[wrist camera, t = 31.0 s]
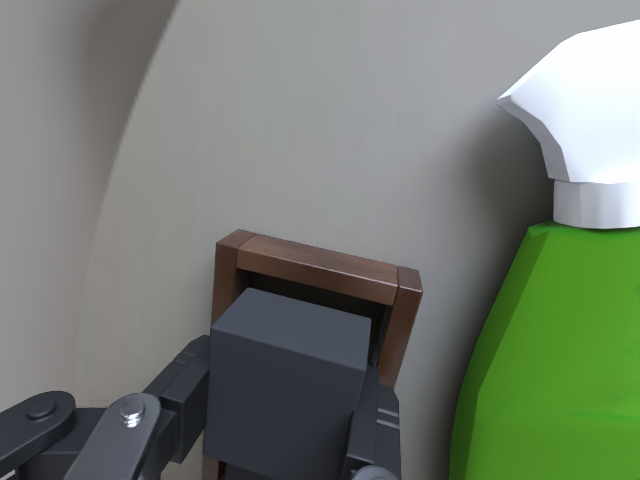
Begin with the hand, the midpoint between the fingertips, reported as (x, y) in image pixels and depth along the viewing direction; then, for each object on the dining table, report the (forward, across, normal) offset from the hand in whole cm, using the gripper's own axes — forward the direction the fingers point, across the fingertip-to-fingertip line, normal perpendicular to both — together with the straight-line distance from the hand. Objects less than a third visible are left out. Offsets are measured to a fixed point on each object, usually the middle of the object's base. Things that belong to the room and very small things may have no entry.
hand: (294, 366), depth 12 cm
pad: (0, 0, 0) cm, 0 cm away
